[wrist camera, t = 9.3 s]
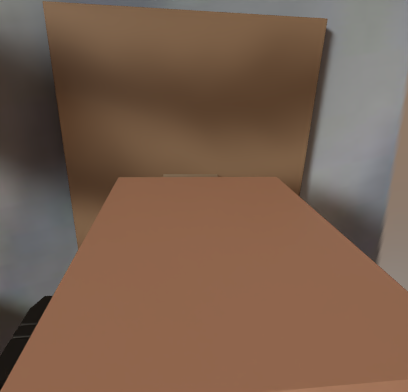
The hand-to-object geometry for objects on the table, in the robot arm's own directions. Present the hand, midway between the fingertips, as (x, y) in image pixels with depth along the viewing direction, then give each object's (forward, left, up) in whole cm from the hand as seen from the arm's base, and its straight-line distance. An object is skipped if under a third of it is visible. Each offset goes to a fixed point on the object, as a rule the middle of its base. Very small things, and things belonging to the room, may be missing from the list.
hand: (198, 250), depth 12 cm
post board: (0, 0, -7) cm, 7 cm away
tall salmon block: (0, 0, 0) cm, 0 cm away
